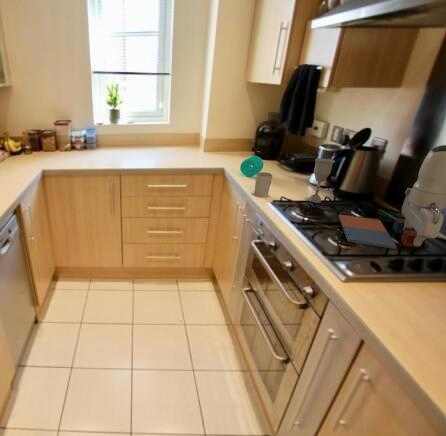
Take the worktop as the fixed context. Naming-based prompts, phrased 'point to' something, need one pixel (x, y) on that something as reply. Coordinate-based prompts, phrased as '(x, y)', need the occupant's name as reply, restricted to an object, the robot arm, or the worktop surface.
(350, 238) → the board
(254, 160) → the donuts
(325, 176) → the chalice
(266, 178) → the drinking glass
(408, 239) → the terracotta block
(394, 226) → the slate block
